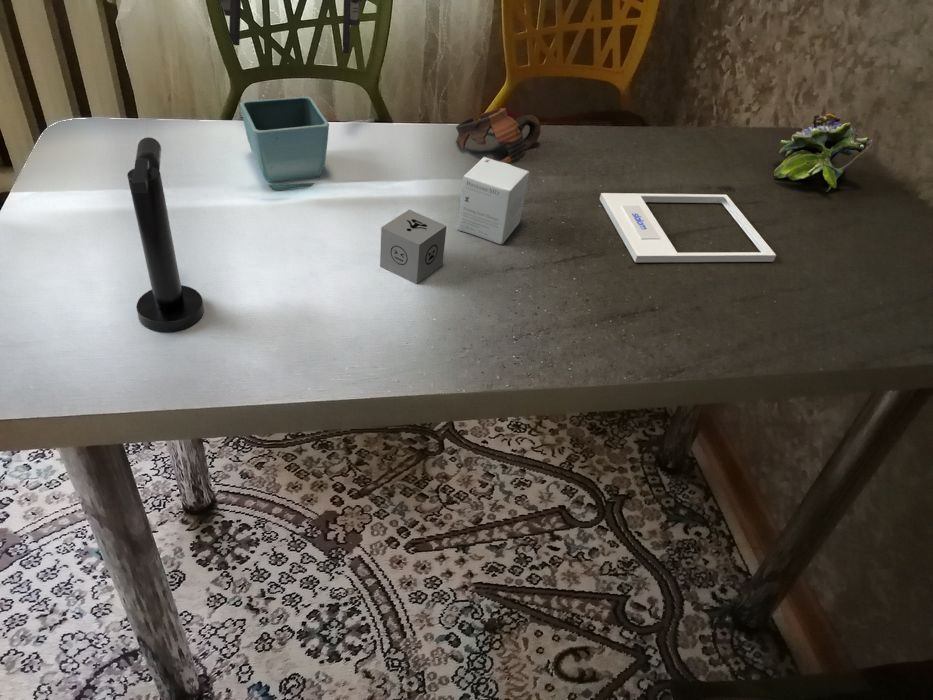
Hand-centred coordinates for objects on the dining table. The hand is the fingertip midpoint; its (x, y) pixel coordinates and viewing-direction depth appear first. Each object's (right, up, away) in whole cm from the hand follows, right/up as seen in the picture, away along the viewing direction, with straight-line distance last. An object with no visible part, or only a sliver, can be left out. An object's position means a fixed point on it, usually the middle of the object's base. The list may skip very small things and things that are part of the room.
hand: (290, 44), depth 93 cm
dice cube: (+16, -29, -9) cm, 34 cm away
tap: (-7, -33, -18) cm, 39 cm away
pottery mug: (+26, -12, +12) cm, 31 cm away
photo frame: (+49, -23, +2) cm, 55 cm away
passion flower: (+73, -13, +17) cm, 76 cm away
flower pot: (-1, -17, +2) cm, 17 cm away
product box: (+25, -23, -2) cm, 34 cm away
